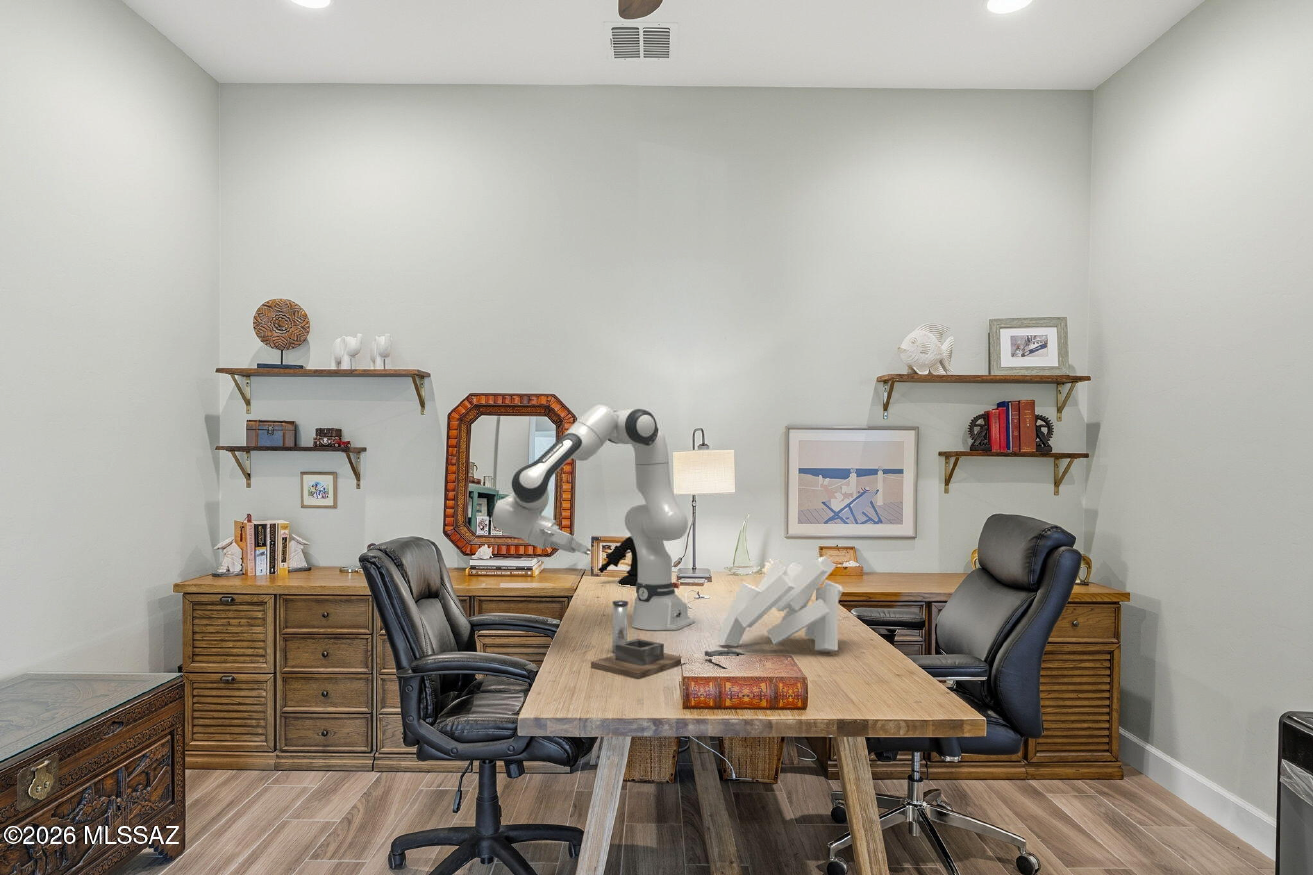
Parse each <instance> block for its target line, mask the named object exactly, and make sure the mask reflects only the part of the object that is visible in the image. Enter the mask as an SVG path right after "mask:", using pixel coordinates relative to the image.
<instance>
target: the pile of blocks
mask: <svg viewBox="0 0 1313 875" xmlns="http://www.w3.org/2000/svg"><path fill="white" fill-rule="evenodd" d="M836 567H837V566H836V565H835V564H834V563H833V562H832V561H831V560H830V559H829V558H828V557H827V556H820V557H818V559H814V558H813V559H812V560H810V562H809V563H808V564H806V565H805V566H804V567H802V565H801V564H800V563H798V562H794V561H793V562H792V563H791V564H789V565H788V566H786V565H785V564H783V563H782V562H780V561H778V560H777V559H774V560H773V562H772V563H771V565H770V566H769V568H768V570H767V572H766V573H765V575H764V576H763V577H762V580H760V581H761V582H760V583H759V584H758V586H757V587H756V586H753V585H751V584H748V583H745V582H741V584H740V587H739V589H738V590H737V593H736V595H735V597H734V599H733V601H732V604H731V605H730V608H729V610H728V612H727V615H725V616H726V617H725V618H724V621H723V623H722V625H721V627H720V629H719V631H718V633H717V636H716V638H717V639H718V640H720V641H721V642H722V643H723V644H726V645H728V646H730V647H731V646H732V647H734V646H733V645H738V646H739V645H740V642H741V641H742V638H743V636H744V634H745V632H746V629H747V628H753V626H755V625H756V624H757V623H758V622H759V621H761V619H762V618H763V617H764V616H765V615H767V614H768V613H769V612H770V611H771V610H772V609H776V611H777V612H784V611H785V612H784V614H783V616H782V618H781V620H780V622H779V623H777V624H775V625H774V626H772V627H770V628H769V629H767V630H766V633H767V635H768V636H769V638H770V640H771V641H772V643H773V645H775V644H776V645H777V644H780V643H781V642H782V643H783V642H784V641H786V640H787V639H791V638H792V636H794V635H795V634H797V633H799V632H801V631H802V630H804V637H806V638H809V639H811V640H814V650H815V651H818V652H823V651H828V652H827V653H831V652H834V651H835V652H836V651H838V650H839V601H840V598H841V596H842V593H843V586H842V585H841V584H837V583H835V582H832V581H829V580H827V579H826V578H828V576H829V575H830V574H831V573H832V571H834V569H836ZM823 582H824V583H823ZM822 583H823V585H822V586H820V585H821V584H822ZM819 586H820V587H819ZM814 593H815V601H813V602H812V603H811V604H809V603H810V601H811V599H812V597H813V595H814Z"/></svg>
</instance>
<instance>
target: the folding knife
mask: <svg viewBox="0 0 1313 875" xmlns="http://www.w3.org/2000/svg"><path fill="white" fill-rule="evenodd" d="M739 655H746V654H745V653H743V652H739V651H737V650H734V649H732V648H727V649H716V650H711V651H709V650H705V651H704V657H706V656H708V657H713V656H739ZM708 657H707V658H708Z"/></svg>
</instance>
